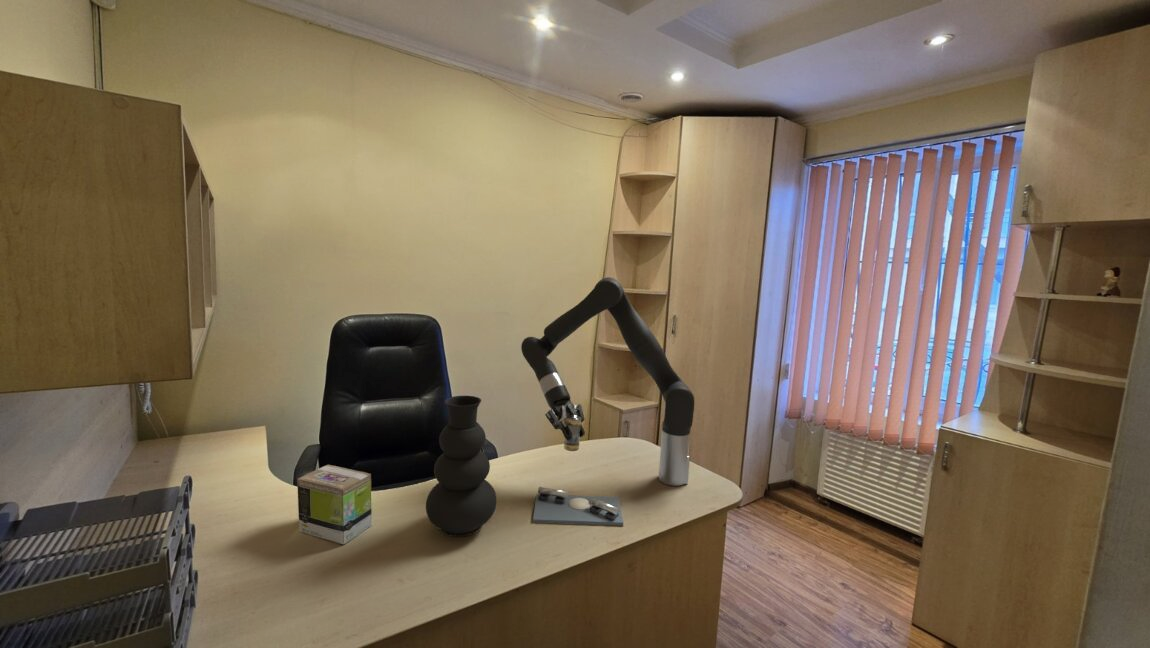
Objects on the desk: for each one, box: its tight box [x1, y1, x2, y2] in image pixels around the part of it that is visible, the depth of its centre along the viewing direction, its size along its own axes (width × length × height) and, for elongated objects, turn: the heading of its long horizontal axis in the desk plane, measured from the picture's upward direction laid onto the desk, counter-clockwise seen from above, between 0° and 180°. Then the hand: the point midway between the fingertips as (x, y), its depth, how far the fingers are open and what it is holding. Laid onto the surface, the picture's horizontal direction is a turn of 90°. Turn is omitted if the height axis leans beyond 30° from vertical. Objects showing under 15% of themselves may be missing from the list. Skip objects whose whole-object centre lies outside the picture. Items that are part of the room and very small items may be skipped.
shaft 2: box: [589, 498, 619, 521], centre depth 134 cm, size 9×4×4 cm, turn 56°
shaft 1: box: [537, 486, 570, 504], centre depth 140 cm, size 9×4×4 cm, turn 76°
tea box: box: [296, 464, 373, 545], centre depth 121 cm, size 15×10×15 cm, turn 71°
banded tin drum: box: [563, 415, 582, 452], centre depth 146 cm, size 5×5×10 cm
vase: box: [425, 395, 498, 537], centre depth 123 cm, size 18×18×35 cm
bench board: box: [532, 493, 624, 527], centre depth 136 cm, size 25×14×1 cm, turn 91°
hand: (576, 437), depth 145 cm, fingers closed on banded tin drum, 4 cm apart
